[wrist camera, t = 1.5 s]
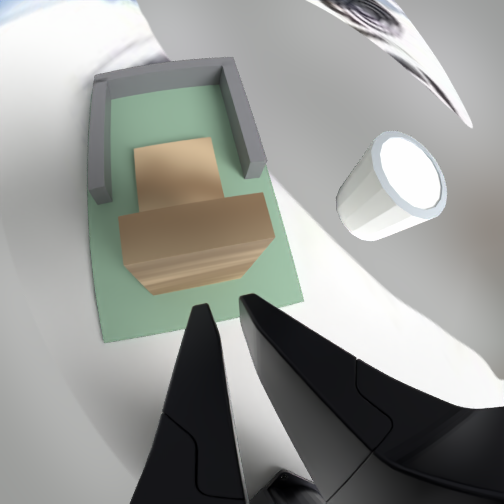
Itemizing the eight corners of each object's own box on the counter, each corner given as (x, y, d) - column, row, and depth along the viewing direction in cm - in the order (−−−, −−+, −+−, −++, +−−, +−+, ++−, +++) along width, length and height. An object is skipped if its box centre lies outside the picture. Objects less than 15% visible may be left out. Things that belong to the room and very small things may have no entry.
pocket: (259, 177, 23) (267, 160, 21) (97, 204, 20) (87, 189, 18) (229, 75, 26) (233, 56, 23) (99, 93, 23) (94, 75, 20)
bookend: (241, 278, 21) (275, 237, 12) (153, 295, 19) (123, 265, 11) (210, 142, 23) (222, 56, 15) (135, 154, 22) (116, 69, 13)
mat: (302, 301, 21) (304, 301, 21) (105, 342, 18) (104, 342, 18) (235, 74, 26) (236, 72, 26) (92, 94, 23) (92, 92, 23)
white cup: (377, 265, 23) (434, 240, 17) (313, 210, 24) (355, 166, 17) (406, 209, 26) (455, 176, 19) (351, 160, 26) (391, 114, 19)
